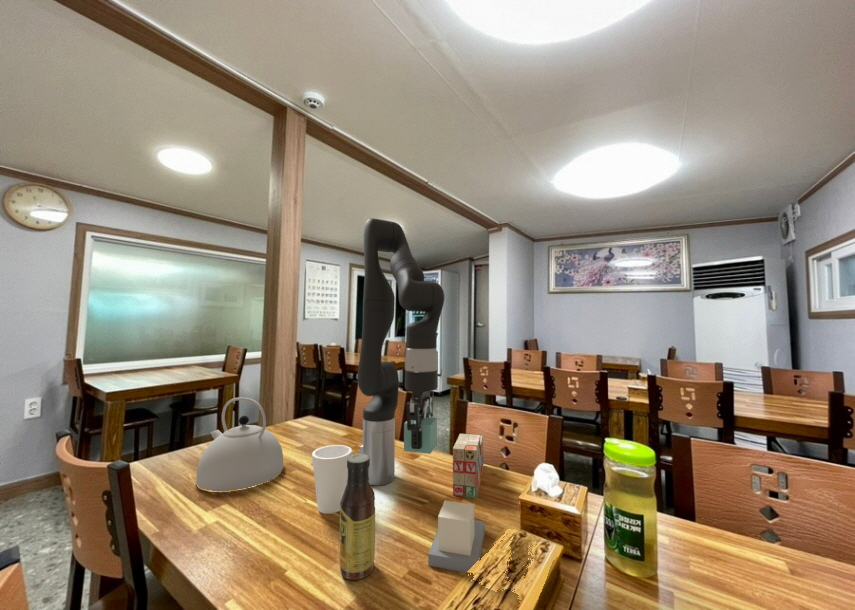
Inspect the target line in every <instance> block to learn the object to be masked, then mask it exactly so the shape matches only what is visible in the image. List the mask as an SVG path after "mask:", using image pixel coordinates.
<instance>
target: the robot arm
mask: <svg viewBox="0 0 855 610" xmlns="http://www.w3.org/2000/svg"><path fill="white" fill-rule="evenodd" d="M379 252H383V253H393V254H392V256H391V259H390V263H389V270H390V272H391V274H392V276H393V278H394V280H395V282H396V284H397V290H398V302H399V305H400V306H401V307H402V308H403V309H404V310H406V311H408V312H422V313H423V312H424V314H423V317H422V319H420V320H419V321H413V322H410V323H408V324H407V326H406V330H405V331H406V332H405V333H406V336H405V337H406V339H405V340H406V341H405V356H404V389H406V391H410V392H412V393H411V397H410V401H408V402H406V405H405V406H406V421H407V430H410V431H411V447H412V448H413V449H421V447H422V425H423V421H424V420H425V419H426V417H427V418H429V417H430V418H433V416H434V395H435V394H434V391H436V390H437V389H438V387H439V386H438V382H439V381H438V379H439V378H438V375H439V370H438V369H439V367H438V365H439V362H438V361H439V359H438V357H439V356H438V351H437V350H438V349H437V347H438V344H437V343H438V341H437V333H438V332H437V330H438V327H439V322H440V318H441V314H442V311H443V308H444V303H445V291H444V289H443V287H442V286H441V284H439V283H438V282H434V281H425V273H424V271H423V269H422V268H421V267H420V265H419V263H418V262H417V261H416V260H415V258H414V256H413V254H412V252H411V249H410V246H409V243H408V239H407V237H406V234H405V230H403V227H402V226H401V225H400V223H397V222H396V221H391V220H387V219H379V218H372V217H371V218H369V219H367V220H366V221H365V224H364V228H363V261H364V262H363V263H364V277H363V278H364V283H363V298H362V328H361V329H362V330H361V345H360V353H359V361H358V368H357V369H358V370H357V385H358V388H359V391H360V392H361V393H362V395H364V396H366V397H372V398H371V400H370V401H369V402H368V403H367V404H366V405H365V406H364V408H363V410H362V444H361V445H360V446H359V454H366V455H368V456H369V458H370V465H369V470H368V471H369V472H368V477H369V481H368V482H369V484H370V485H371V486H382V485H388V484H389V483H391V482H392V481H394V480H395V471H396V470H395V460H396V459H395V456H396V455H395V454H396V453H395V451H396V450H395V449H396V447H395V445H396V443H395V442H396V440H395V439H396V437H395V436H396V435H395V434H396V433H395V432H396V425H395V424H396V423H395V422H396V410H397V408H398V405H399V404H398V403H399V387H400V386H399V385H400V383H399V382H400V381H399V380H400V378H399V372H398V369H397V367H396V365H394V363H393V362H391V361H386V360H384V361H382V353H383V347H384V343H385V340H386V338H387V335H388V333H389V331H390V329H391V328H392V325H393V322H394V319H395V303H396V302H395V301H396V299H395V298H396V297H395V293H394V291H393V288H392V286H391V284H390V282H389V281H388V279H387V277H386V276H385V274H384V272H383V270H382V266H381V265H380V260H379ZM414 421H416V425H414Z"/></svg>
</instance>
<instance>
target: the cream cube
mask: <svg viewBox="0 0 855 610" xmlns="http://www.w3.org/2000/svg"><path fill="white" fill-rule="evenodd" d="M474 520H475V504H472V503H463V502H458V501H451V500H450V501H448V500H444V502H443V504H442V506H441V508H440V511H439V513H438V515H437V531H438V550H440V551H445V552H451V553H457V554H462V555H468V556H470V555H471V550H472V545H473V541H474Z"/></svg>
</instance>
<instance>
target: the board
mask: <svg viewBox="0 0 855 610" xmlns="http://www.w3.org/2000/svg"><path fill="white" fill-rule="evenodd" d="M485 526H486V524H485V521H482V520H477V519H476V520H475V519H474V541H473V545H472V550H471V555H470V556H468V555H462V554H457V553H451V552H445V551H440V550H438V530H437V531H436V533H435V536H434V539H433V541H432V543H431V546H430V548H429V551H428V554H427V556H428V557H427V559H428V560H427V564H428V566H429V567H434V568H438V569H444V570H449V571H455V572H459V573H460V572H461V573H465V574H467V573H466V572H467V571H468V570H469V569H470V568H471V567H472V566H473V565H474V564H475V563H476V562H477V561H478V560H479V558H480V557H481V558H482V553H483V552H482V551H483V546H484V545H483V544H484V538H485V532H486V527H485ZM481 558H480V559H481ZM428 566H427V567H428Z"/></svg>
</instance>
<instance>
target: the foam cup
mask: <svg viewBox="0 0 855 610" xmlns="http://www.w3.org/2000/svg"><path fill="white" fill-rule="evenodd" d="M352 455H353V450H352V448H351V447H350V446H348V445H344V444H343V445H342V444H333V445H332V444H331V445H326V446H322V447H319V448H316V449H315V450H314V451H312V453H311V467H312V468H313V477H314V486H315V495H316V496H315V497H316V506H317V511H318V513H321V514H324V515H325V514H326V515H327V514H330V515H331V514H335V513H338V512H340V502H341V499H342V496H343V494H344V491H345V488H346V485H347V479H348V468H347V458H348V457H350V456H352Z"/></svg>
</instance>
